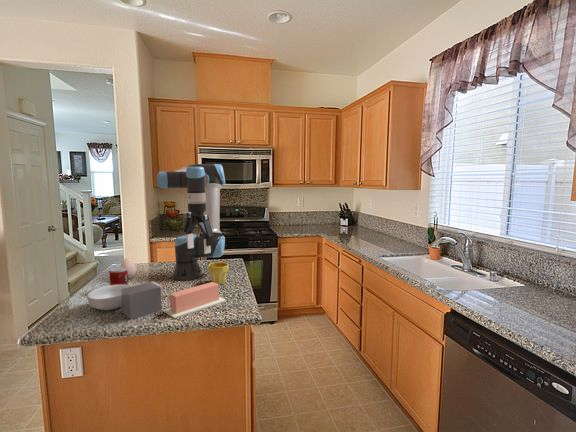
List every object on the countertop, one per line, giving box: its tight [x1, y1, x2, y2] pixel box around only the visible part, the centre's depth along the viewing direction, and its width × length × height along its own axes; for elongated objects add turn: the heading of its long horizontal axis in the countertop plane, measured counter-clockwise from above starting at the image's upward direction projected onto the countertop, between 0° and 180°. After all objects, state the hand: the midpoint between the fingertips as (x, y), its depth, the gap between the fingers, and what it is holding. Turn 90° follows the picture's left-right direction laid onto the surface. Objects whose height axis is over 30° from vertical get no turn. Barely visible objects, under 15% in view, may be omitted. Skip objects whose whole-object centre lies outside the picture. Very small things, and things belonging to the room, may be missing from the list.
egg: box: [119, 257, 137, 280], centre depth 169 cm, size 8×8×11 cm
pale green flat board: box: [162, 296, 227, 319], centre depth 132 cm, size 24×10×1 cm, turn 136°
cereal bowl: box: [86, 284, 133, 311], centre depth 132 cm, size 17×17×7 cm
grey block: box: [121, 281, 164, 320], centre depth 127 cm, size 13×10×10 cm
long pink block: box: [169, 281, 220, 314], centre depth 132 cm, size 20×5×7 cm, turn 136°
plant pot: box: [207, 261, 229, 286], centre depth 162 cm, size 10×10×10 cm
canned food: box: [108, 266, 129, 286], centre depth 150 cm, size 8×8×11 cm
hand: (198, 250), depth 137 cm, fingers open, 13 cm apart
